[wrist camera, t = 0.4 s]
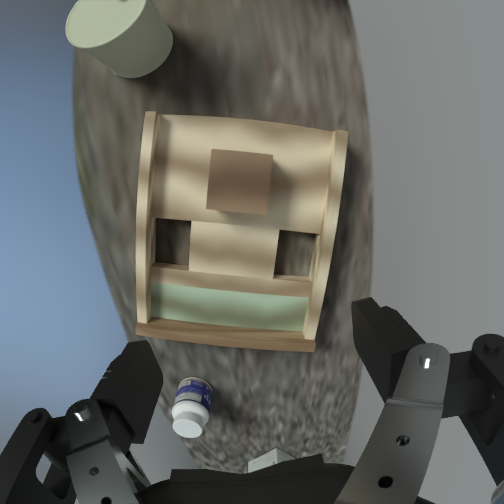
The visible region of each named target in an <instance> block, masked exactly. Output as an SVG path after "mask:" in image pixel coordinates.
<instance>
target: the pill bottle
mask: <svg viewBox="0 0 504 504" xmlns="http://www.w3.org/2000/svg"><path fill="white" fill-rule="evenodd" d="M211 398H212V388H211V386H210V385H209V384H208V383H207V382H206V381H205V380H203V379H200V378H196V377H189V378H186V379H184V380H182V381H181V382H180V384H179V387H178V391H177V395H176V398H175V402H174V405H173V409H172V416H173V418H174V422H173V429H174V431H175V432H176V433H177V434H179V435H181V436H183V437H187V438H195V437H198V436H200V435H201V433H202V430H203V426H204V425H205V424H206V423H207V422H208V419H209V413H210V405H211Z"/></svg>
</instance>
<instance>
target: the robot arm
mask: <svg viewBox="0 0 504 504" xmlns="http://www.w3.org/2000/svg"><path fill="white" fill-rule="evenodd" d="M351 308H352V323H353V338H354V344H355V347H356V350H357V352H358V354H359V356H360V358H361V360H362V361H363V363H364V365H365V367H366V369H367V371H368V372H369V375H370V376H371V378H372V380H373V382H374V384H375V386H376V388H377V390H378V392H379V394H380V396H381V397H382V399H383V401H384V403H385V405H384V408H383V410H382V413H381V415H380V417H379V420H378V422H377V424H376V426H375V428H374V431H373V433H372V435H371V437H370V439H369V441H368V443H367V445H366V447H365V449H364V451H363V453H362V455H361V457H360V459H359V461H358V463H357V465H356V466H355V467H354V466H350V465H344V464H334V463H324V462H323V458H322V454H318V455H313V456H309V457H304V458H299V459H293V460H287V461H282V462H280V463H277V464H274V465H271V466H268V467H265V468H262V469H259V470H256V471H253V472H250V473H246V474H236V473H229V472H222V471H215V470H209V469H172V471H171V476H170V479H168V480H164V481H161V482H158V483H155V484H153V485H151V483H150V482H149V480H148V478H147V477H146V475H145V473H144V472H143V470H142V468H141V466H140V465H139V463H138V461H137V459H136V458H135V456H134V454H133V452H132V451H131V450H130V445H131V443H134V444H143V443H144V440H145V437H146V434H147V431H148V427H149V424H150V421H151V418H152V415H153V412H154V409H155V406H156V403H157V400H158V397H159V394H160V391H161V389H162V386H163V374H162V371H161V369H160V366H159V364H158V362H157V360H156V358H155V355H154V353H153V351H152V348H151V346H150V344H149V343H148V341H146V340H142V341H134V342H129V343H127V345H126V347H125V349H124V350H123V352H122V353H121V355H119V356H118V357H117V358H116V359H114V360H113V361H112V362H111V364H110V365H109V367H108V368H107V370H106V372H105V373H104V375H103V379H101V380H100V382H99V383H98V385H97V387H96V388H95V390H94V392H93V394H92V396H91V397H90V399H82V400H80V401H77V402H75V403H74V404H73V405H71V407H69V408H68V410H67V412H66V414H65V416H62V417H56V418H52V417H51V415H50V414H49V413H48V411H47V410H46V409H44V408H36V409H34V410H32V411H30V412H28V413H27V414H26V415H25V416H24V417H23V419H22V420H21V422H20V423H19V425H18V427H17V428H16V430H15V431H14V433H13V435H12V436H11V438H10V440H9V441H8V443H7V445H6V446H5V448H4V450H3V452H2V453H1V455H0V504H74V503H75V500H76V497H77V499H78V502H79V504H435V503H433V502H430V501H428V500H426V499H423V498H421V497H419V496H418V493H419V491H420V488H421V485H422V482H423V480H424V477H425V474H426V471H427V468H428V465H429V462H430V458H431V455H432V451H433V448H434V444H435V441H436V437H437V433H438V429H439V425H440V421H441V418H447V417H453V416H459V418H460V419H461V421H462V423H463V424H464V426H465V428H466V429H467V431H468V433H469V434H470V436H471V438H472V440H473V441H474V443H475V445H476V446H477V449H478V451H479V452H480V454H481V456H482V458H483V460H484V462H485V464H486V466H487V467H488V469H489V471H490V473H491V475H492V477H493V479H494V481H495V483H496V485H497V488H496V489H495V491H494V492H493V495H492V498H491V504H504V337H502V336H500V335H497V334H485V335H482V336H479V337H478V338H477V339H475V341H474V342H473V346H472V350H471V351H466V352H460V353H453V354H450V353H449V352H448V350H447V349H446V348H445V347H443V346H441V345H439V344H434V343H426V342H425V341H424V340H423V339H422V338H421V337H420V336H419V335H418V333H417V332H416V331H415V330H414V329H413V328H412V327H411V326H410V325H409V324H408V322H407V321H406V320H405V319H403V317H402V316H401V315H400V314H399V313H398V311H396V310H394V309H392V308H390V307H388V306H384V307H381V308H380V306H379V305H378V304H377V303H376V302H375V301H374V300H373V298H371V297H369V298H365V299H361V300H357V301H353V302H352V306H351ZM43 454H44V455H45V456H46V457H47V458H48V459H49V461H51V463H52V464H51V466H50V468H49V471H48V473H47V475H46V478H45V480H44V482H43V484H42V483H41V482H40V481H39V480H38V478H37V476H36V467H37V465H38V463H39V461H40V459H41V457H42V455H43Z"/></svg>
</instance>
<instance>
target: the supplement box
mask: <svg viewBox="0 0 504 504" xmlns="http://www.w3.org/2000/svg"><path fill="white" fill-rule="evenodd" d="M293 459H296V458H294V457H292V456H290V455H289V454H287V453H285V452H283V451H281V450H280V449H278V448H275V449H273V450H272V451H270V452H268V453H266V454H264V455H262V456H260V457H258V458H256V459H254V460H251V461H249V462H248V473H250V472H253V471H256V470H259V469H262V468H265V467H268V466H271V465H274V464H277V463H280V462H282V461H287V460H293Z"/></svg>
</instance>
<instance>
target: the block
mask: <svg viewBox="0 0 504 504" xmlns="http://www.w3.org/2000/svg"><path fill="white" fill-rule="evenodd" d="M272 162H273V155H270V154H261V153H252V152H243V151H232V150H220V149H212V150H211V160H210V169H209V180H208V190H207V201H206V209H210V210H221V211H231V212H241V213H251V214H260V215H266V214H267V205H268V197H269V188H270V179H271V170H272Z"/></svg>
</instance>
